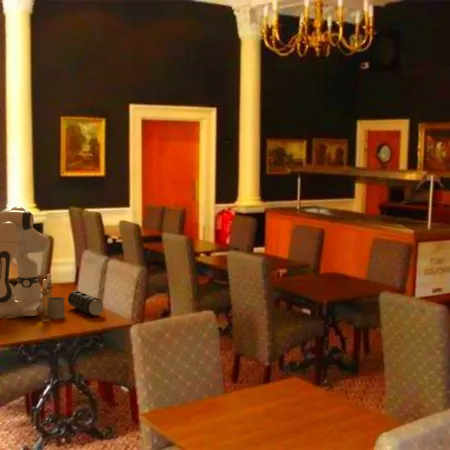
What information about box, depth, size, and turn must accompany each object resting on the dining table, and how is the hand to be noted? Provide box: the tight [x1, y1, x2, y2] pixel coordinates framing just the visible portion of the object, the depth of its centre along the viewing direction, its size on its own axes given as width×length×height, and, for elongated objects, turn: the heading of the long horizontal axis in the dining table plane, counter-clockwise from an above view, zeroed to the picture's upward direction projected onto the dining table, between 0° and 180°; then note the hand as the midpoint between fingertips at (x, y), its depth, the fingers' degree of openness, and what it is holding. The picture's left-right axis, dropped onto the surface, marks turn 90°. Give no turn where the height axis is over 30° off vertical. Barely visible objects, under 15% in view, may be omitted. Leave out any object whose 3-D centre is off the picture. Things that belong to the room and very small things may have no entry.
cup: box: [48, 296, 65, 320], centre depth 369 cm, size 8×8×10 cm
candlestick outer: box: [40, 278, 51, 323], centre depth 360 cm, size 4×4×22 cm
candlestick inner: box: [46, 273, 54, 298], centre depth 376 cm, size 4×4×22 cm
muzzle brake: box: [67, 290, 104, 317], centre depth 380 cm, size 10×28×10 cm, turn 35°
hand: (48, 308), depth 369 cm, fingers closed, pressing on cup
